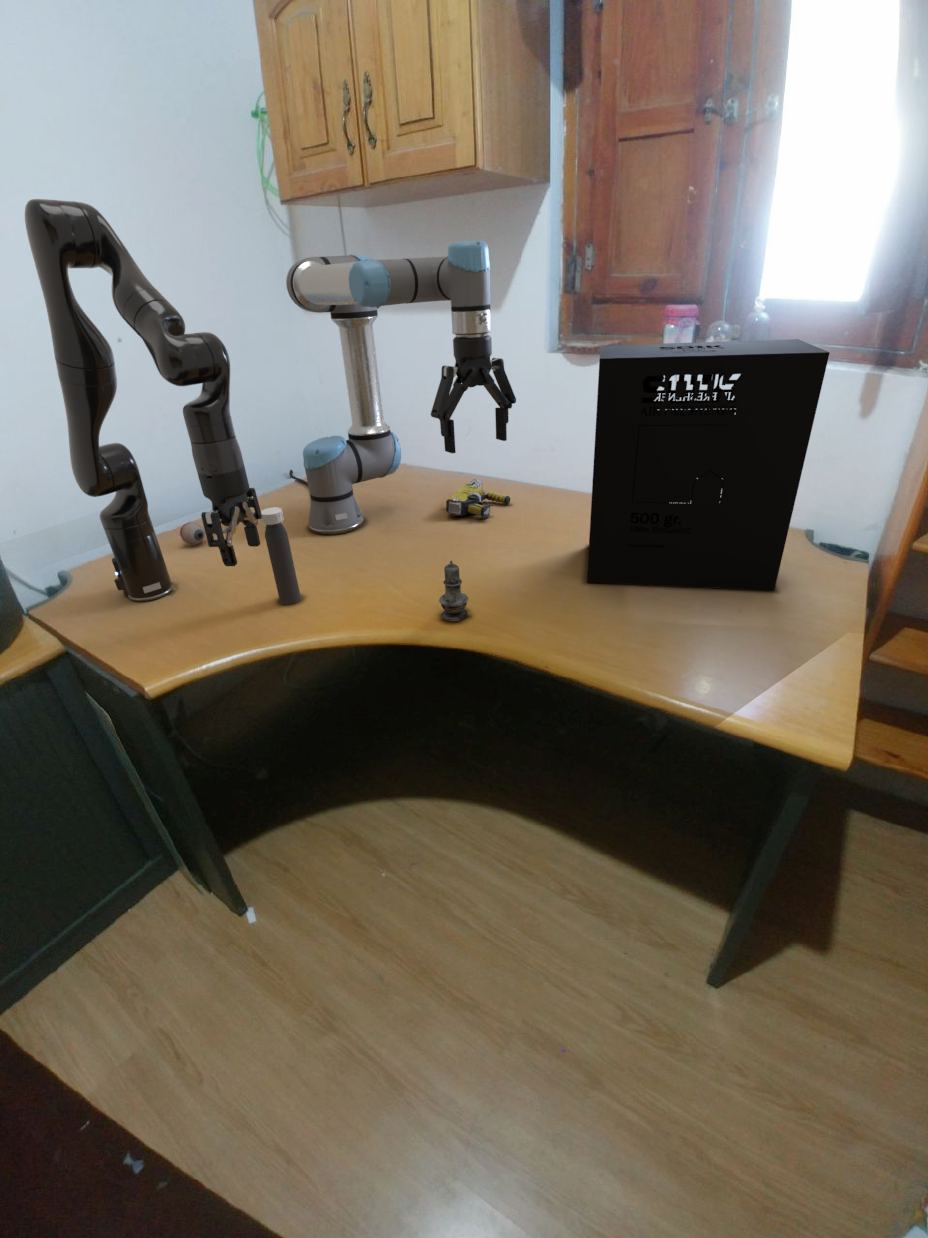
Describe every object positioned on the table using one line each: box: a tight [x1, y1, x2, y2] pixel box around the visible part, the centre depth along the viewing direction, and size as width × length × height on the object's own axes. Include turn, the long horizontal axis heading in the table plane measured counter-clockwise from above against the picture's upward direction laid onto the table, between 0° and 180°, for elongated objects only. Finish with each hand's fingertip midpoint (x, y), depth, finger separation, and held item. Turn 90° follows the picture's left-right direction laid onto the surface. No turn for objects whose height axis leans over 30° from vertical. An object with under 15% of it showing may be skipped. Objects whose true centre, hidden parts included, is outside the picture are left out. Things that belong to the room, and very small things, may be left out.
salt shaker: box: [438, 560, 469, 622], centre depth 119 cm, size 6×6×12 cm
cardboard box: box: [586, 338, 831, 592], centre depth 124 cm, size 38×20×45 cm, turn 78°
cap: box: [260, 506, 285, 526], centre depth 122 cm, size 4×4×2 cm
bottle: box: [264, 522, 302, 606], centre depth 126 cm, size 4×4×20 cm
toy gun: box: [445, 478, 511, 520], centre depth 176 cm, size 5×24×15 cm
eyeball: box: [179, 521, 206, 546], centre depth 161 cm, size 6×6×6 cm
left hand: (243, 555), depth 108 cm, fingers open, 8 cm apart
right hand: (476, 445), depth 127 cm, fingers open, 13 cm apart
